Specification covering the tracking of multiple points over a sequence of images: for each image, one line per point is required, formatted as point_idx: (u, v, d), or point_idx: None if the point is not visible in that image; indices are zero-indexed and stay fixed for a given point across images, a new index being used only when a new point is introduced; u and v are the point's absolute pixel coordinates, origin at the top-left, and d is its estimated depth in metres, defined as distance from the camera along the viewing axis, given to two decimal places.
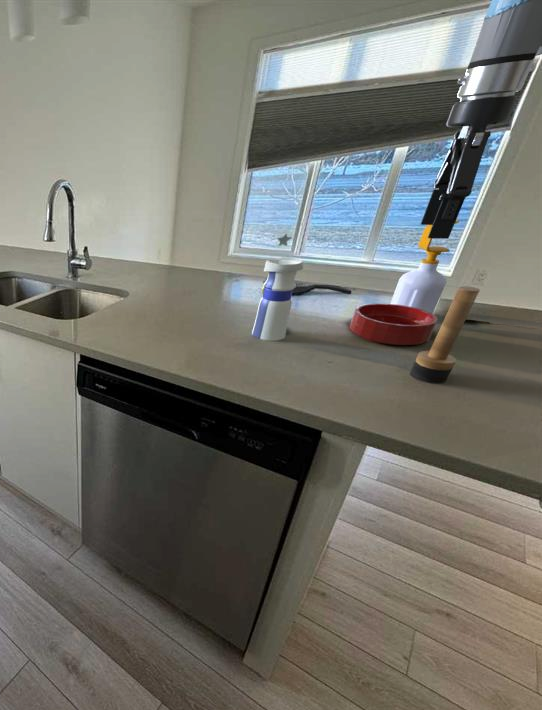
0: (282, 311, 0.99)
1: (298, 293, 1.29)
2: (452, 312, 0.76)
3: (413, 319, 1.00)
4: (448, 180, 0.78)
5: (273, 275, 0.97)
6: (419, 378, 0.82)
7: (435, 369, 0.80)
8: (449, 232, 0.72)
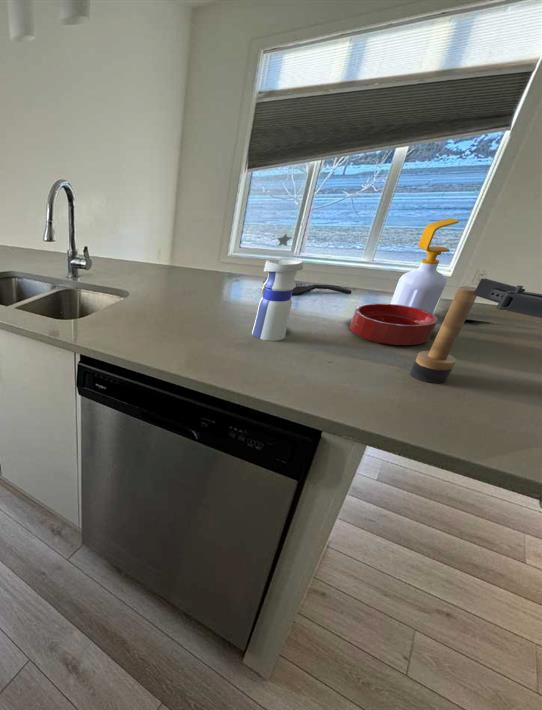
0: (282, 311, 0.99)
1: (298, 293, 1.29)
2: (452, 312, 0.76)
3: (413, 319, 1.00)
4: None
5: (273, 275, 0.97)
6: (419, 378, 0.82)
7: (435, 369, 0.80)
8: None
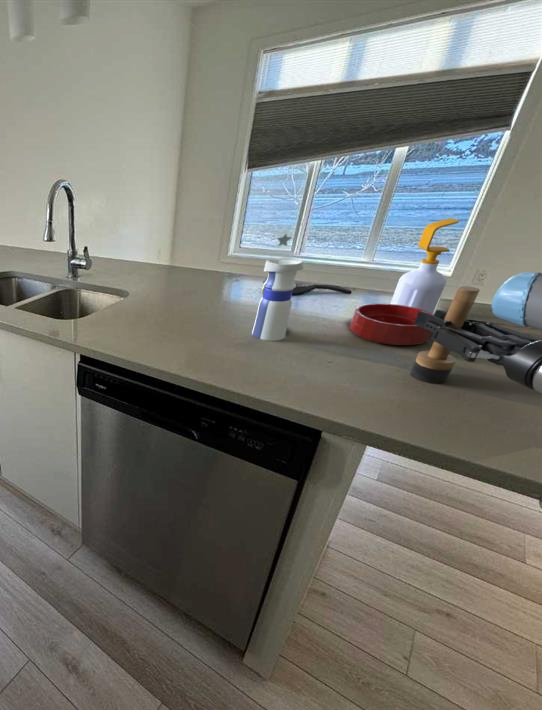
0: (282, 311, 0.99)
1: (298, 293, 1.29)
2: (452, 312, 0.76)
3: (413, 319, 1.00)
4: None
5: (273, 275, 0.97)
6: (419, 378, 0.82)
7: (435, 369, 0.80)
8: (444, 312, 0.81)
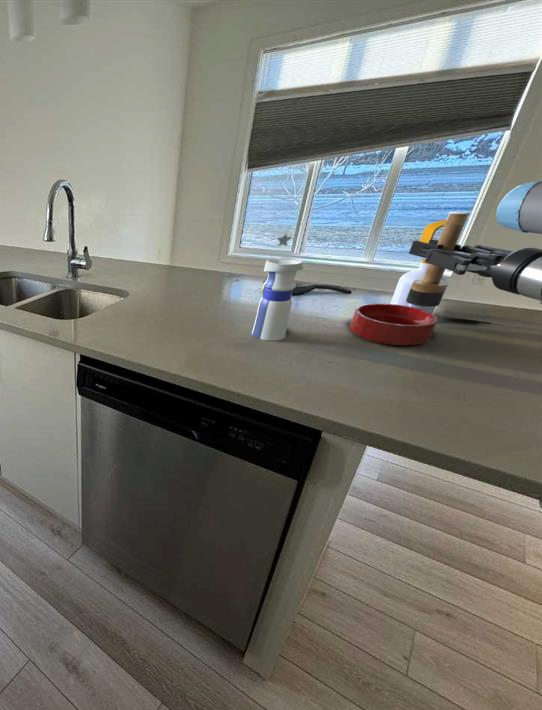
0: (282, 311, 0.99)
1: (298, 293, 1.29)
2: (444, 236, 0.82)
3: (413, 319, 1.00)
4: None
5: (273, 275, 0.97)
6: (414, 303, 0.89)
7: (428, 293, 0.86)
8: None
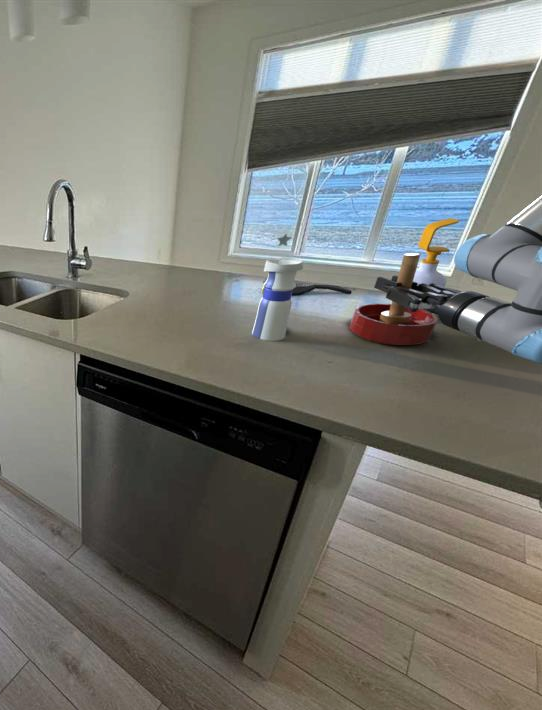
0: (282, 311, 0.99)
1: (298, 293, 1.29)
2: (401, 274, 0.93)
3: (413, 319, 1.00)
4: None
5: (273, 275, 0.97)
6: None
7: (395, 323, 0.96)
8: None
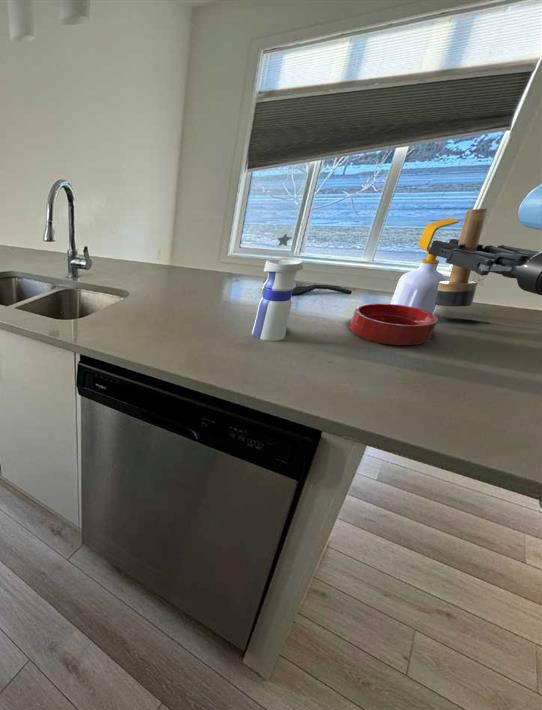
0: (282, 311, 0.99)
1: (298, 293, 1.29)
2: (465, 233, 0.80)
3: (413, 319, 1.00)
4: None
5: (273, 275, 0.97)
6: (445, 304, 0.84)
7: (459, 291, 0.82)
8: None
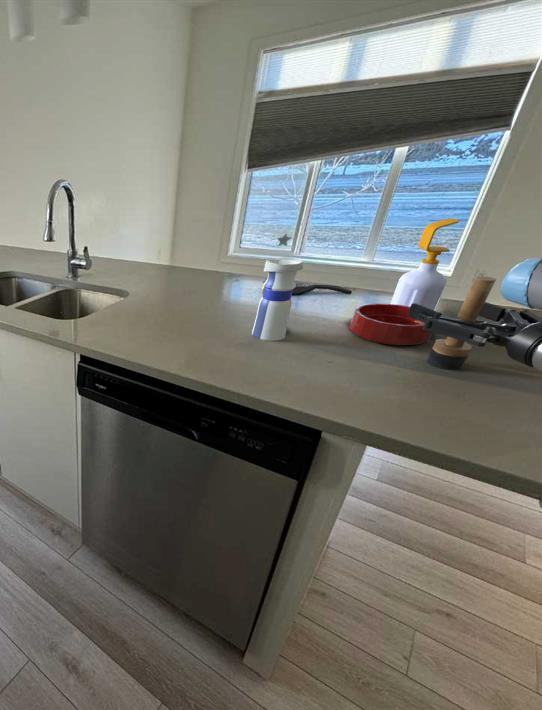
0: (282, 311, 0.99)
1: (298, 293, 1.29)
2: (469, 301, 0.80)
3: (413, 319, 1.00)
4: None
5: (273, 275, 0.97)
6: (436, 365, 0.86)
7: (452, 356, 0.84)
8: None
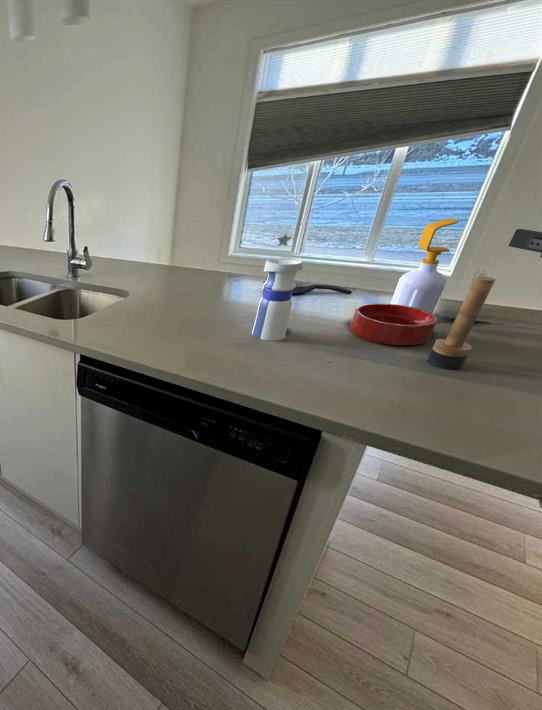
0: (282, 311, 0.99)
1: (298, 293, 1.29)
2: (469, 301, 0.80)
3: (413, 319, 1.00)
4: None
5: (273, 275, 0.97)
6: (436, 365, 0.86)
7: (452, 356, 0.84)
8: None
